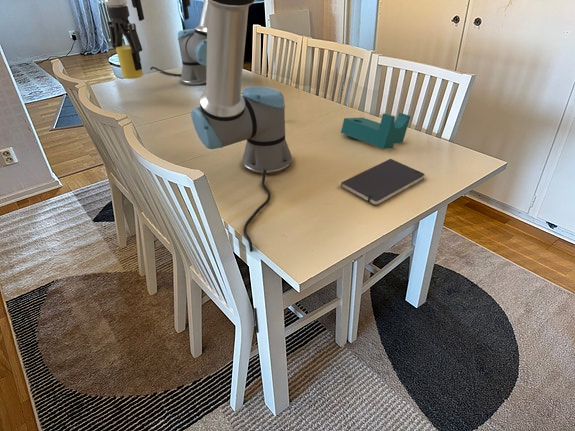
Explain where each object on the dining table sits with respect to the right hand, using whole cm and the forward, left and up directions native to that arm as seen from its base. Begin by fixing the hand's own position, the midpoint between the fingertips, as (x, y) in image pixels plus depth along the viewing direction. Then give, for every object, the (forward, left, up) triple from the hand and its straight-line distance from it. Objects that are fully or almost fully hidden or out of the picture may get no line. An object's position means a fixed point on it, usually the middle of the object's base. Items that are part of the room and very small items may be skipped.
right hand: (164, 19), depth 120 cm
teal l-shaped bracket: (-15, -63, -38) cm, 76 cm away
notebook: (-44, -56, -38) cm, 81 cm away
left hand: (+41, +20, -24) cm, 52 cm away
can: (+41, +20, -27) cm, 53 cm away
